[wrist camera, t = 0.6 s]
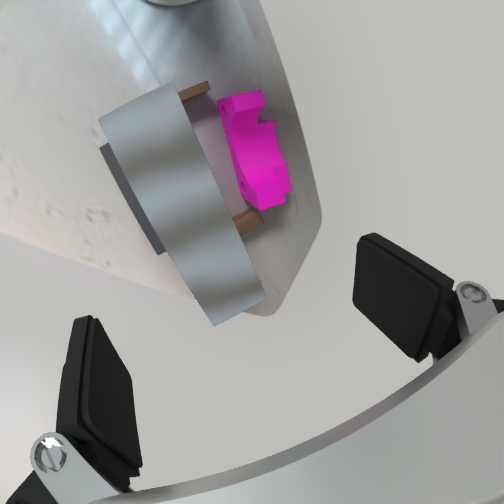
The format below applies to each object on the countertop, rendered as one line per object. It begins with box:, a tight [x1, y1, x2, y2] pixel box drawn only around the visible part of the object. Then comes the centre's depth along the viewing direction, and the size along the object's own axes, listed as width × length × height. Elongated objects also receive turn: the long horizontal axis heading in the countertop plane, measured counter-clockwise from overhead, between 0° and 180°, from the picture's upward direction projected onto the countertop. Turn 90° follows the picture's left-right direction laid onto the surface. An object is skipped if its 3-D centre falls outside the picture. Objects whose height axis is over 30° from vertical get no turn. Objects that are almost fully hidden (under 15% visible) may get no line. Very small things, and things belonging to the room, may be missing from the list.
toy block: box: [217, 90, 292, 211], centre depth 37 cm, size 15×6×8 cm, turn 14°
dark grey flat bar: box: [99, 143, 166, 255], centre depth 37 cm, size 18×2×1 cm, turn 21°
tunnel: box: [98, 81, 267, 326], centre depth 31 cm, size 21×12×18 cm, turn 21°
